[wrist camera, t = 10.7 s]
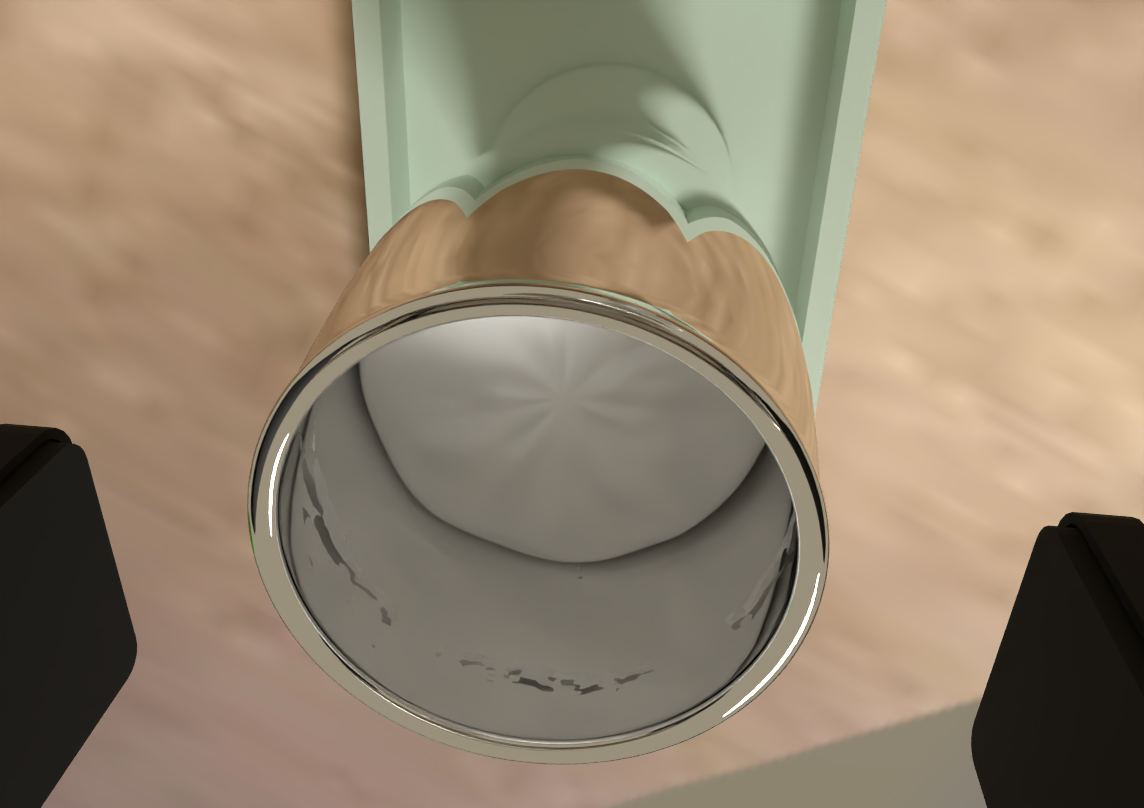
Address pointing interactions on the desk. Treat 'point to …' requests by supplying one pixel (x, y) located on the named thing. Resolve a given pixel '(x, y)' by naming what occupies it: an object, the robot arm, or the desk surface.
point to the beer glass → (554, 445)
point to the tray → (662, 45)
